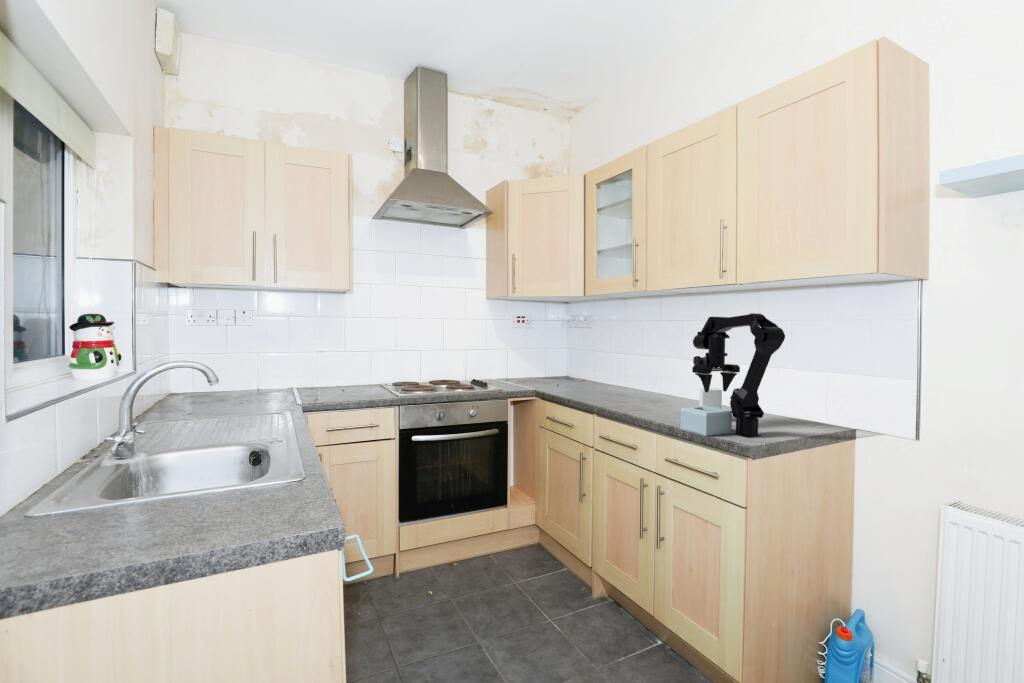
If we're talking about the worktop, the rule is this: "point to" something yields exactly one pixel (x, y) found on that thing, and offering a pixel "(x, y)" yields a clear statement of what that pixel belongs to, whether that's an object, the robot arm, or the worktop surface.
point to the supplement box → (710, 398)
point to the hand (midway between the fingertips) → (715, 391)
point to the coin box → (706, 420)
